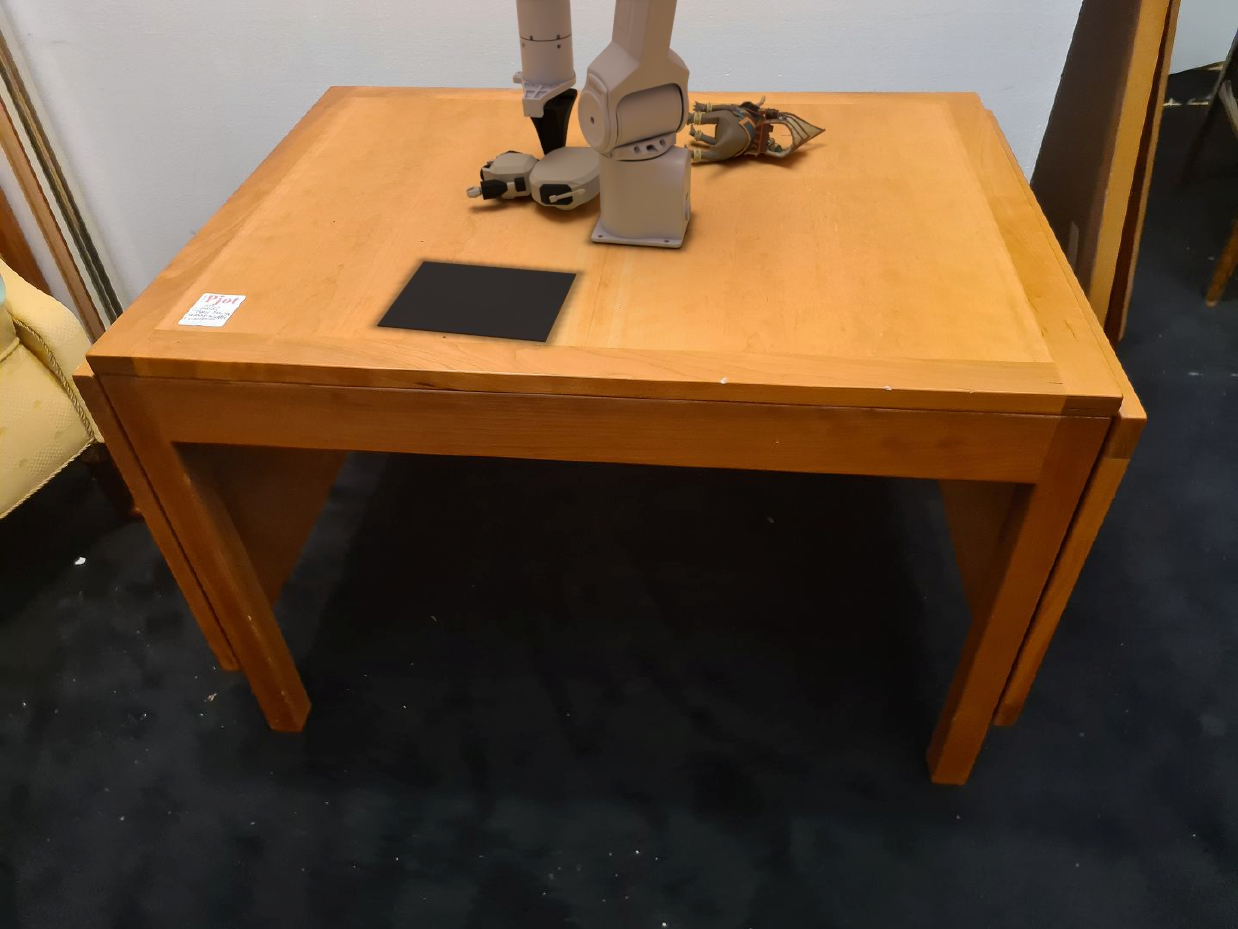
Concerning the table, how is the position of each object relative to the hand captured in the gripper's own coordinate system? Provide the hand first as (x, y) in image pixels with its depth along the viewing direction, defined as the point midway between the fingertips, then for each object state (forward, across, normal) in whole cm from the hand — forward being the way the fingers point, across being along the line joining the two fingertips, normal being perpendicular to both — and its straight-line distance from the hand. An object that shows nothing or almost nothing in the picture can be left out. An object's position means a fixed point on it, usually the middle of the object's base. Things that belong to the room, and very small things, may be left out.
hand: (554, 156), depth 103 cm
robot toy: (+2, +7, 0) cm, 7 cm away
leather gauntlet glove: (+2, -9, +23) cm, 25 cm away
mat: (+2, +29, 0) cm, 29 cm away
